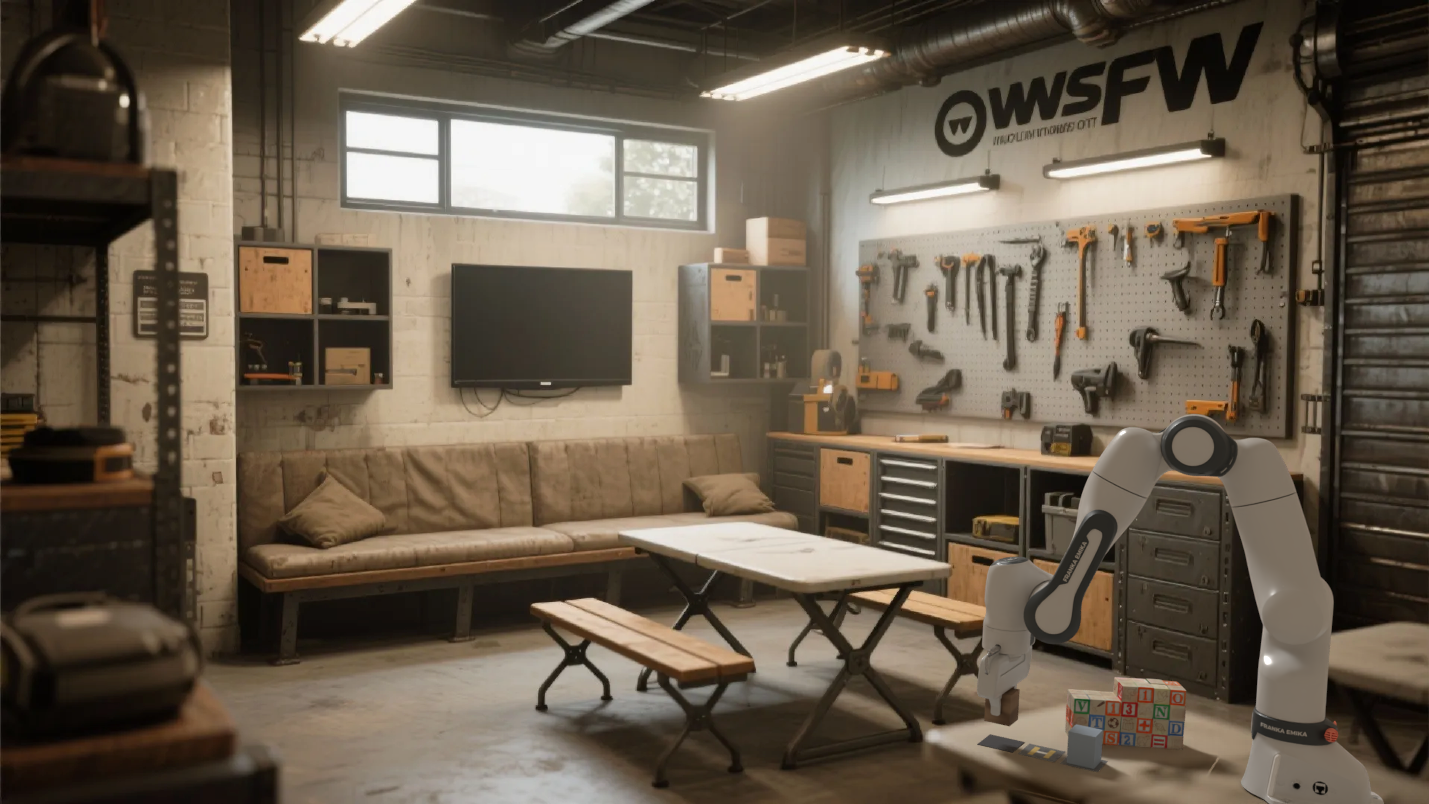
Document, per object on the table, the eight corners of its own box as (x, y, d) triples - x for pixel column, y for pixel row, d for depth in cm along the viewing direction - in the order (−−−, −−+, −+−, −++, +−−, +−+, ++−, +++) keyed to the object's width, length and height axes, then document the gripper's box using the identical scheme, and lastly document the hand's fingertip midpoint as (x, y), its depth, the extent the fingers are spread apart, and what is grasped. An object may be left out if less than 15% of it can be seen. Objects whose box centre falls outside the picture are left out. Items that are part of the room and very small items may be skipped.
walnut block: (1017, 719, 229) (1019, 689, 229) (1009, 726, 225) (1011, 695, 225) (993, 714, 232) (994, 684, 231) (984, 720, 228) (985, 690, 227)
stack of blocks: (1070, 744, 231) (1074, 682, 230) (1064, 733, 237) (1067, 673, 236) (1183, 751, 229) (1187, 689, 228) (1174, 740, 235) (1177, 680, 234)
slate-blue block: (1101, 761, 221) (1102, 729, 220) (1093, 769, 216) (1095, 737, 216) (1074, 755, 223) (1076, 724, 223) (1066, 762, 219) (1068, 731, 219)
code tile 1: (1065, 753, 225) (1065, 751, 225) (1054, 763, 219) (1054, 762, 219) (1029, 745, 229) (1029, 743, 229) (1017, 755, 223) (1017, 753, 223)
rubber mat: (1024, 743, 230) (1024, 741, 230) (1012, 754, 224) (1012, 752, 224) (989, 736, 233) (990, 734, 233) (977, 746, 228) (977, 744, 228)
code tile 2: (1107, 762, 221) (1108, 760, 221) (1097, 773, 215) (1097, 772, 215) (1070, 754, 225) (1070, 752, 225) (1059, 765, 219) (1059, 763, 219)
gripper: (1003, 654, 217) (999, 728, 218) (1038, 632, 234) (1034, 700, 235) (970, 648, 220) (966, 720, 221) (1007, 627, 238) (1003, 694, 238)
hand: (1001, 710), depth 228 cm, fingers closed on walnut block, 5 cm apart
